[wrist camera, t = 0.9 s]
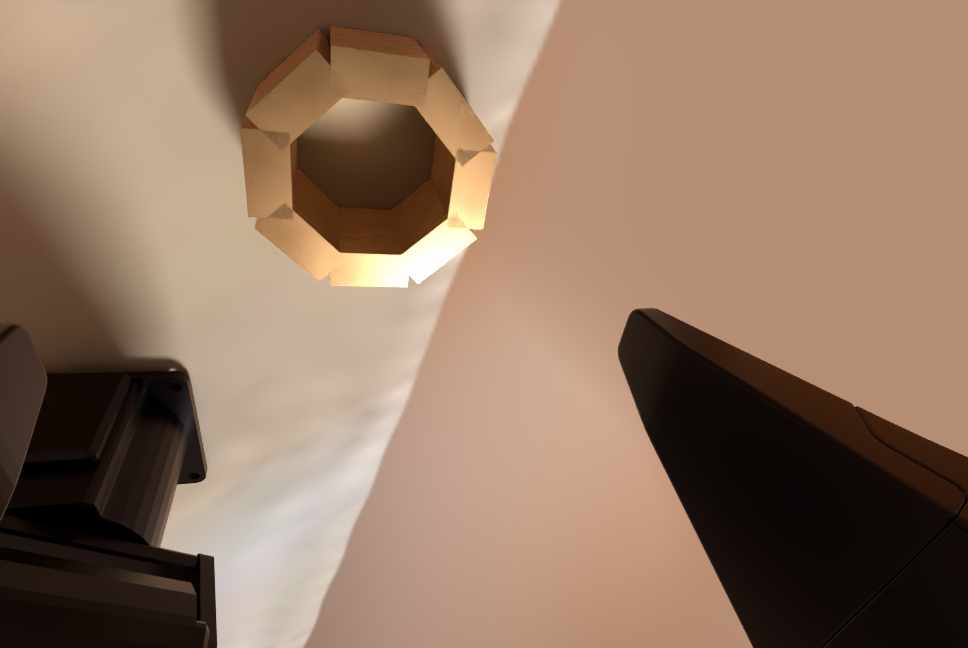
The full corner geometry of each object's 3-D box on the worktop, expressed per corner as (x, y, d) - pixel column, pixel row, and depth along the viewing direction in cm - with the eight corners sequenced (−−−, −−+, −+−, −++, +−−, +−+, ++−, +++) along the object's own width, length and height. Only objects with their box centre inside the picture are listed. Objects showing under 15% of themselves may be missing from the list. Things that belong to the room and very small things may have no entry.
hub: (453, 241, 21) (472, 288, 18) (264, 233, 19) (254, 284, 16) (482, 48, 17) (510, 71, 15) (249, 12, 15) (231, 31, 13)
